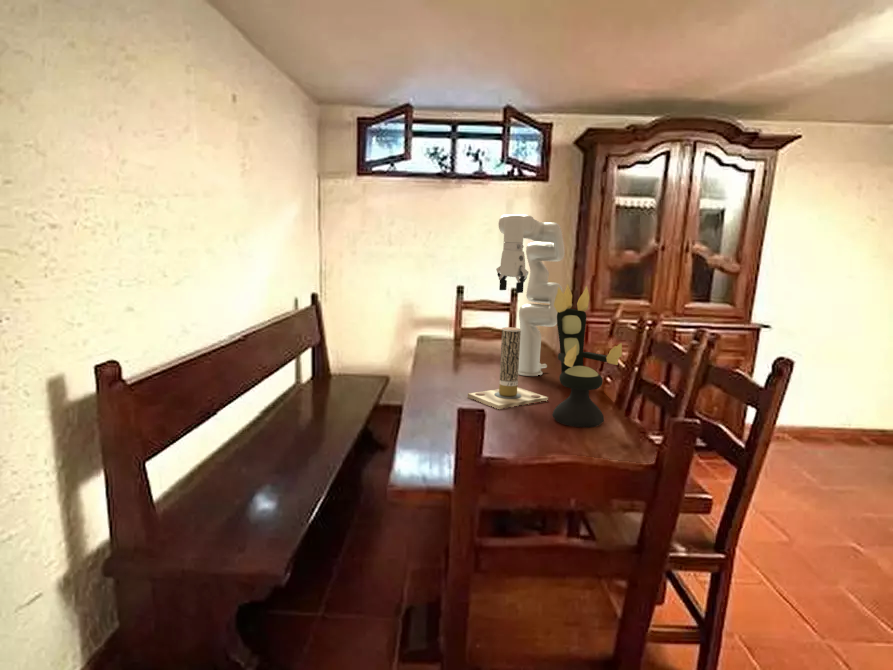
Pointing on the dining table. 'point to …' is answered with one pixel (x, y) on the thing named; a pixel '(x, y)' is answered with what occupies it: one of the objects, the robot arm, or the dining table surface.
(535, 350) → the robot arm
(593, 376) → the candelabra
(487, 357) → the dining table surface
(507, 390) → the paper tube
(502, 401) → the board
